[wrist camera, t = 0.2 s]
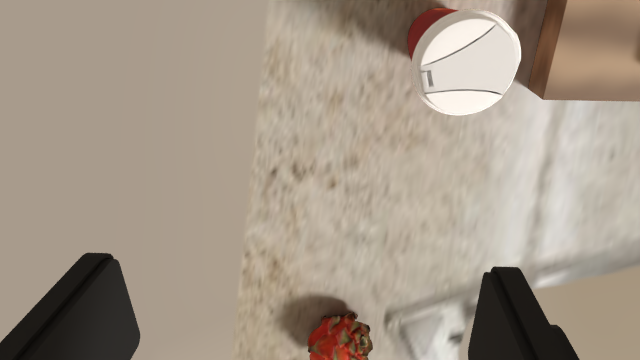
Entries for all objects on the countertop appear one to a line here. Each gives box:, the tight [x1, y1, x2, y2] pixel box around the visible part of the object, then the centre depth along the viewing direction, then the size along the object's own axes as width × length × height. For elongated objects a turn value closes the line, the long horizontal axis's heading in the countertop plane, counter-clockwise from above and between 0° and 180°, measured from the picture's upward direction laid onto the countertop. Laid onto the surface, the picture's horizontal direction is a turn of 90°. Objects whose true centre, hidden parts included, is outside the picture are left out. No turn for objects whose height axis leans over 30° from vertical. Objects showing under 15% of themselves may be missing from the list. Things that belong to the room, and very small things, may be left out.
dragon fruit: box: [308, 312, 373, 360], centre depth 58 cm, size 8×8×12 cm
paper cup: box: [408, 8, 521, 115], centre depth 36 cm, size 8×8×14 cm
